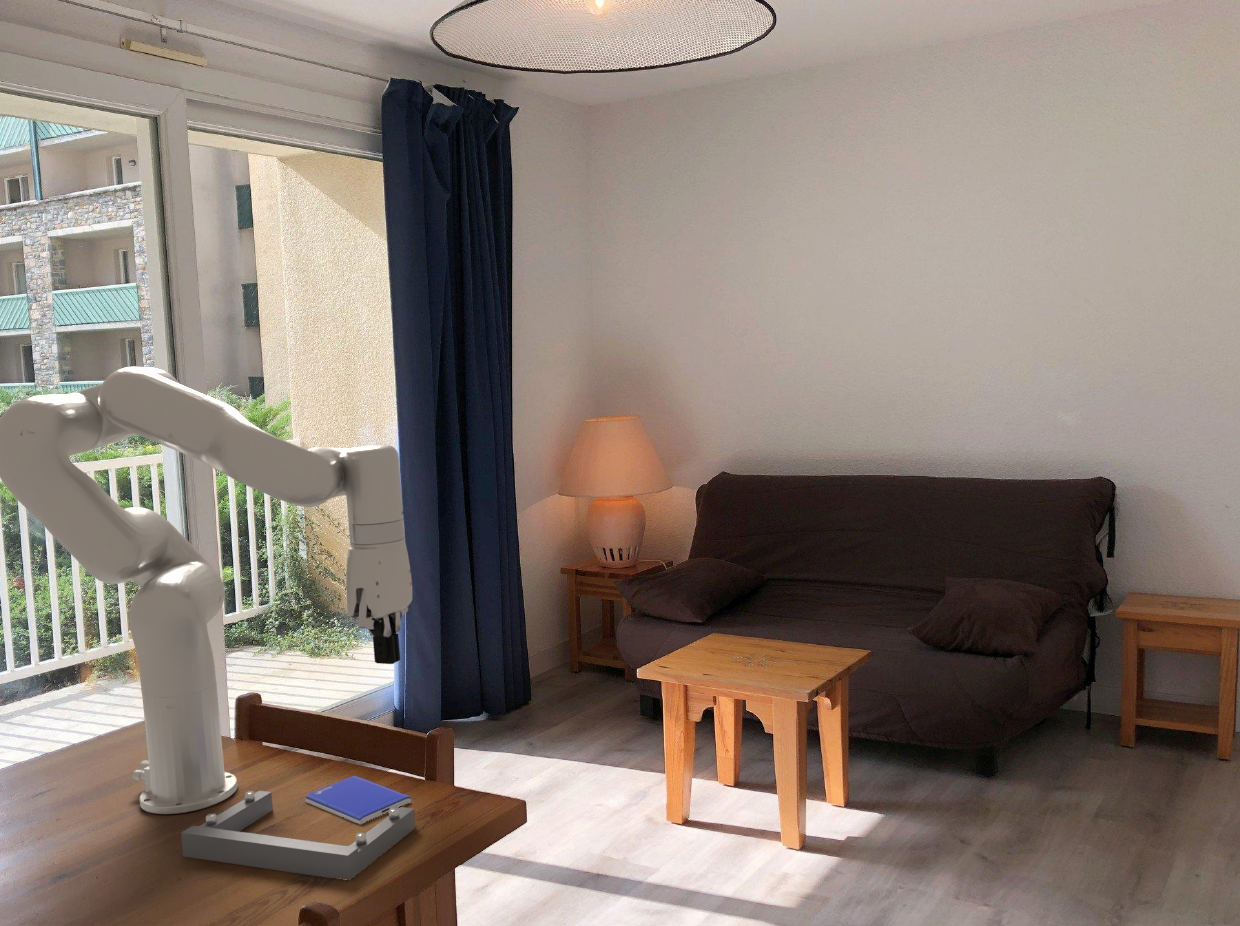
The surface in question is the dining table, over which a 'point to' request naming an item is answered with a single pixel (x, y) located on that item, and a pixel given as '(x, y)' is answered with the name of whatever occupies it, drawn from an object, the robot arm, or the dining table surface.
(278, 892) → the dining table surface
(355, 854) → the drive tray
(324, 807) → the hard drive
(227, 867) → the dining table surface
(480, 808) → the dining table surface
